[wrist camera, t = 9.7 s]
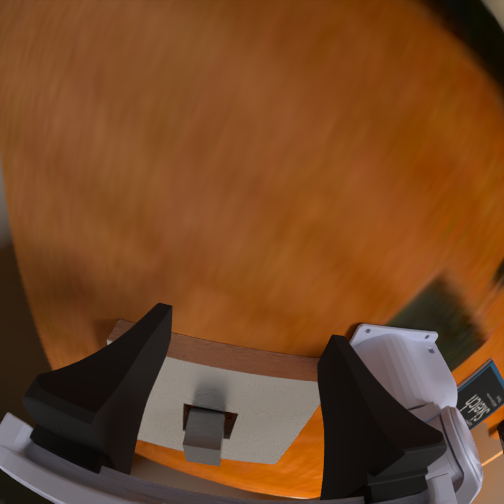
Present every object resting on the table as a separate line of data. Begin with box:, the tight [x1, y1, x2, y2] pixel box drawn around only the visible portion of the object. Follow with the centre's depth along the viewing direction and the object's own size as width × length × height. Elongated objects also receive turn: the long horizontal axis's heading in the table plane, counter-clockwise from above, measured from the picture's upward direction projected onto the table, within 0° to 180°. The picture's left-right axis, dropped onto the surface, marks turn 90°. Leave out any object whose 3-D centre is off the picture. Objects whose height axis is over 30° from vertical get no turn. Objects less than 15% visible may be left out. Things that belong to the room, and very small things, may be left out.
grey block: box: [183, 406, 225, 466], centre depth 26 cm, size 4×4×8 cm
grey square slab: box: [107, 319, 320, 464], centre depth 28 cm, size 20×20×3 cm
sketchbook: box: [456, 358, 504, 430], centre depth 34 cm, size 22×30×2 cm
